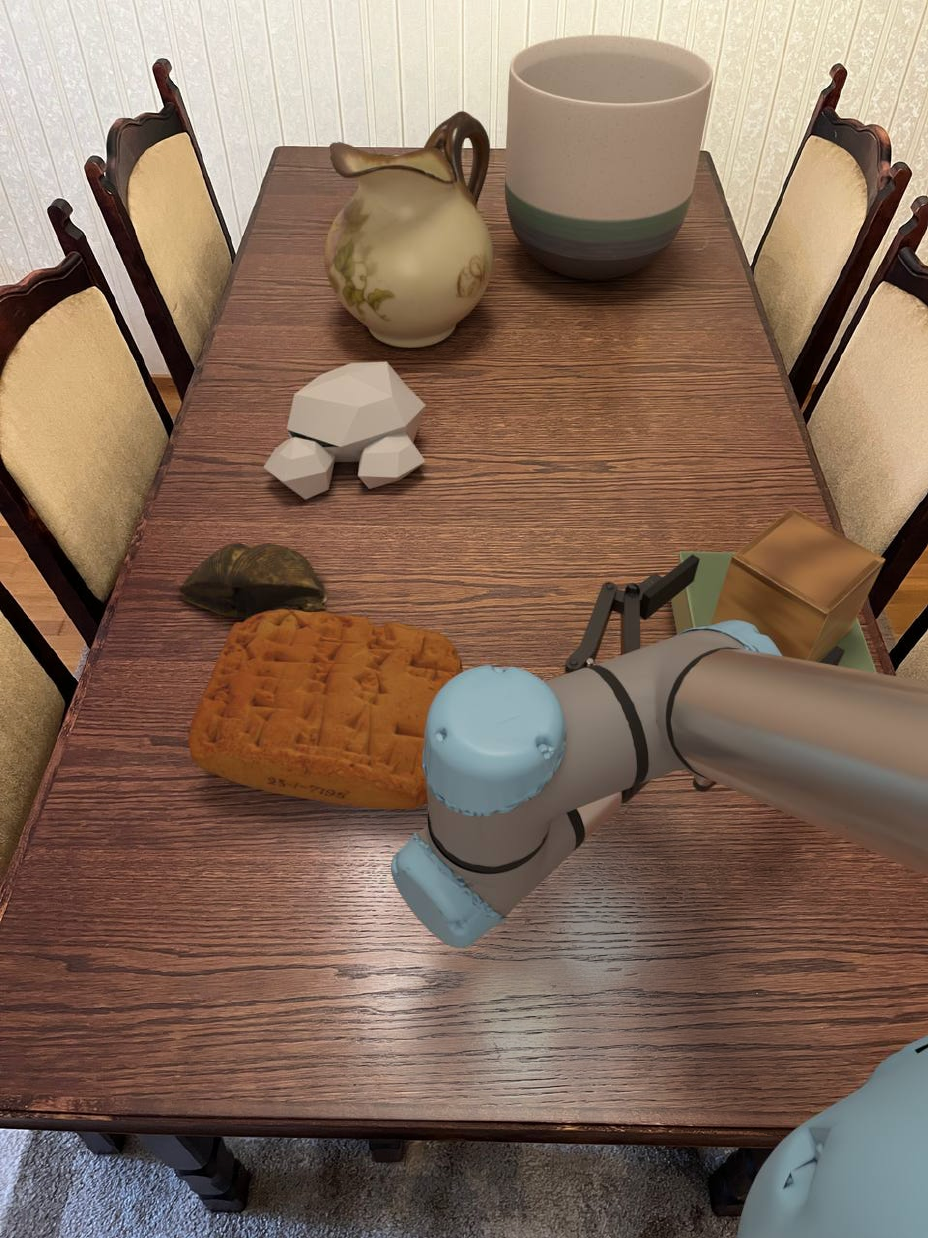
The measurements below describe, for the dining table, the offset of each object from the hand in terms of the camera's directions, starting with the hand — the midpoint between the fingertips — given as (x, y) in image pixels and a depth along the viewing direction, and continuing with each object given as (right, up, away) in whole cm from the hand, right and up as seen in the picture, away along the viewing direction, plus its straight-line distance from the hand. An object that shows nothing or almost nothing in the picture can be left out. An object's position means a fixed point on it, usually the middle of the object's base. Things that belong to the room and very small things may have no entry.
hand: (761, 611), depth 73 cm
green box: (+4, -4, +15) cm, 16 cm away
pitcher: (-31, +41, +55) cm, 75 cm away
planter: (-5, +54, +66) cm, 85 cm away
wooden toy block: (+5, -1, +9) cm, 10 cm away
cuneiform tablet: (-35, -11, +8) cm, 38 cm away
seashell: (-45, +2, +19) cm, 49 cm away
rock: (-38, +19, +35) cm, 55 cm away
